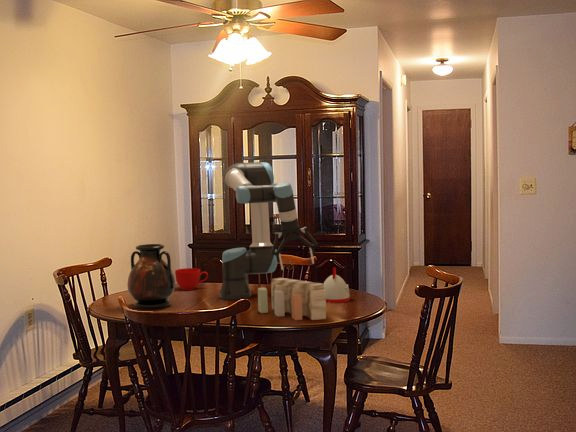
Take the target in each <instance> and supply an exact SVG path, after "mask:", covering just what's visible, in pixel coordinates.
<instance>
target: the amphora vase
mask: <svg viewBox="0 0 576 432" xmlns="http://www.w3.org/2000/svg"><path fill="white" fill-rule="evenodd" d="M135 249H136V250H135V251H133V252H132V253H131V256H130V267H131V268H130V272H129V275H128V278H127V292H128V294H129V295H130V296H131V297H132V299H133V300H135V302H134V303H133V306H134V307H135V308H136V309H140V310H156V309H163V308H167V307H169V306H170V305H171V300H170V299H169V298H170V297H172V295H173V293H174V292H175V289H176V277H175V273H174V271H173V270H172V263H171V262H172V259H171V254H170V253H169V252H168V251H165V250H163V249H165V245H164V244H159V243H149V244H148V243H146V244H138V245H136V246H135ZM161 250H163V251H161ZM136 255H137V256H138V258H139V259H138V260H137V261H136V263H135V256H136ZM163 255H165V257H166V259H167V260H166V261H167V262H166V261H165V260H164V259H163Z"/></svg>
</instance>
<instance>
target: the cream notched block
mask: <svg viewBox="0 0 576 432" xmlns="http://www.w3.org/2000/svg"><path fill="white" fill-rule="evenodd" d="M270 287H271V290H270V291H271V293H270V295H271V297H270V298H271V310H273V311H274V312H275V308H274V291H277V290H281V291H283V292H284V312H285V313H289V314H290V315H291V316H292V304H291V294H292V293H299V294H301V295H302V317H304V316H305V317H307V318H308V319H310V320H312V321H315V320H316V321H317V320H326V319H327V303H326V290H324V283H321V282H314V281H313V282H312V281H306V280H301V279H293V278H286V277H285V278H284V277H277V278H276V277H275V278H271V282H270Z"/></svg>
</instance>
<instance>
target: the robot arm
mask: <svg viewBox="0 0 576 432" xmlns="http://www.w3.org/2000/svg"><path fill="white" fill-rule="evenodd" d="M273 170H274V169H273V168H272V165H271V164H270V163H268V162H262V161H257V162H256V161H255V162H254V161H252V162H237V163H234V164H232V165H230V166H229V167H228V168H226V169H225V171H224V173H223V182H224V183H225V185H226V186H227V187H228V188H230V189H233V191H235V199H236V202H237V203H238V204H250V216H251V217H250V218H251V238H252V240H251V241H252V242H251V244H250V245H249V250H247V248H246V247H234V248H230V249H226V250H224V251H223V252H222V258H221V260H222V261H221V262H222V284H221V287H220V291H219V298H220V299H223V300H231V301H232V300H233V301H234V300H242V299H241V298H245V299H249V298H251V297H252V291H251V288H250V285H249V282H248V275H259V274H269V273H270V274H271V273H274V272H275V271H276V269H277V266H278V263H279V264H280V268H281V271H283V270H284V267H283V266H284V265H283V260H282V256H281V255H282V254H281V252H282V250H283V249H284V247H285V245H286V243H287V242H288V241H289V242H292V241H296V240H297V239H298V240H300V241H301V242H302V243H304V244H305V245H306V246H308V247H309V253H310V259H311V263H312V265H314V264H315V261H314V256H316V250H315V248H316V247H319V245H318V242H317V241H316V240H315V238H314V237H313V235H312V234H311V233H310V232H309V231H308V228H307V226H303V227H302V228H301V227H300V224H299V218H298V213H297V212H298V211H297V209H296V208H297V207H296V203H295V198H294V190H293V187H292V184H291V183H290V182H281V183H276V182H275V181H274V180H275V176H274V171H273ZM269 203H276V205H277V211H278V212H277V213H278V217H279V221H280V228H281V232H278V231H275V233H274V235H275V236H274V237H275V238H274V241H273V244H272V242H271V233H270V215H269ZM301 233H303V234H305V235H306V237H308V239H309V240H310V241H308V240H307V239H306V238H305V237H304V236H303V235H301ZM281 236H282V237H283V239H282V241H281V242H280V244H279V246H278V243H279V238H281ZM277 246H278V247H277Z"/></svg>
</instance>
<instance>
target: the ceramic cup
mask: <svg viewBox="0 0 576 432" xmlns="http://www.w3.org/2000/svg"><path fill="white" fill-rule="evenodd" d="M203 274H205V275H206V277H205V278H204V279H202V280H200V279H201V276H202V275H203ZM174 277H175V282H176V283H177V286H179V288H180V289H181V290H182V291H192V290H196V288H197V287H198V285H199V284H200V283H204V282H205V281H206V280H207V279H208V277H209V274H208V272H207V271H201V269H200V268H195V267H188V268H178V269H175V271H174Z"/></svg>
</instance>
